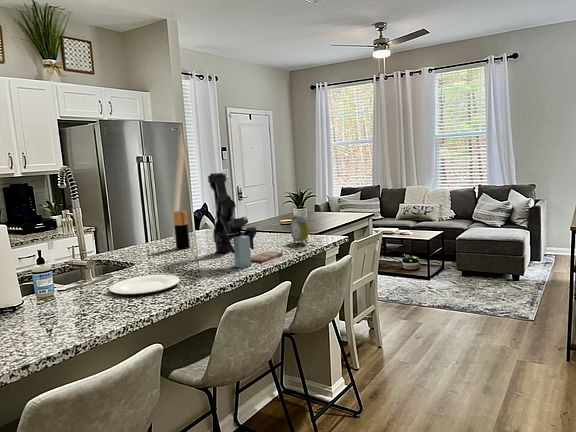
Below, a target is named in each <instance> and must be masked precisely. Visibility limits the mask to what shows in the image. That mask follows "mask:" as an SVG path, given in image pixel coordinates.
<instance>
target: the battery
mask: <svg viewBox="0 0 576 432" xmlns="http://www.w3.org/2000/svg"><path fill="white" fill-rule="evenodd" d="M172 214H173V215H172V216H173V226H174V236H175V248H176V249H177V250H182V249H183V250H184V249H189V248H191V245H190V244H191V243H190V233H189V232H190V231H189V219H188V211H187V210H177V211H173V212H172Z"/></svg>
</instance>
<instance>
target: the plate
mask: <svg viewBox="0 0 576 432" xmlns="http://www.w3.org/2000/svg"><path fill="white" fill-rule="evenodd" d="M180 281H181V279H180V277H178V276H176V275H170V274H152V275H151V274H150V275H149V274H148V275H142V276H136V277H132V278H127V279H123V280H121V281H117V282H115V283H113V284H112V285H111V286H110V287H109V288H108V289H109V292H110V293H113V294H115V295H123V296H124V295H125V296H140V295H141V296H143V295H149V294H156V293H158V292H162V291H165V290H167V289H170V288H173V287H174V286H176V285H177V284H179V283H180Z"/></svg>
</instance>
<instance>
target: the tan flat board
mask: <svg viewBox="0 0 576 432" xmlns="http://www.w3.org/2000/svg"><path fill="white" fill-rule="evenodd" d="M282 256H283V252H279V251H277V252H276V251H263V252H261V253H259V254H256V255H251V263H259V264H264V263H267V262H269V261H272V260H274V259H277V258H279V257H282Z"/></svg>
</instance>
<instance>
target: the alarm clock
mask: <svg viewBox="0 0 576 432" xmlns="http://www.w3.org/2000/svg"><path fill="white" fill-rule="evenodd" d="M289 228H290V233H291V237H292V239H293V243H295V242H300V244H301V246H303V245H304V242H305V243H308V241H307V239H308V238H309V231H310V230H309V225H308V222H307V218H306V216H305V215H303V214H301V215H300V214H298V213H297V214H296V213H295V214H293V215H292V216H291V223H290V227H289Z"/></svg>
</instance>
